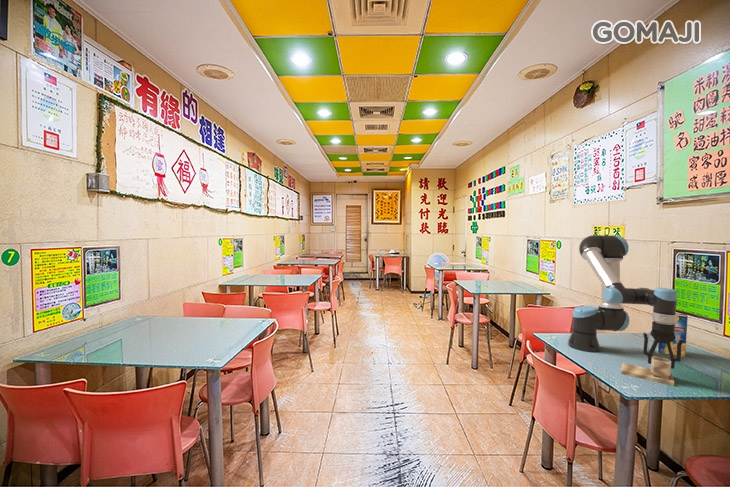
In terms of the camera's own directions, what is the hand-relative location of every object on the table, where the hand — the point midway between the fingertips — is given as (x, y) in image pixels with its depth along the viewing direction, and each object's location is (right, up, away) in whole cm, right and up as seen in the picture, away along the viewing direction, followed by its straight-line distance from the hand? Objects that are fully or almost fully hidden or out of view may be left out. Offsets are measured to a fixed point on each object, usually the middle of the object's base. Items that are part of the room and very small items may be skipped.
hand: (660, 372), depth 147 cm
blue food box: (+36, -2, +33) cm, 49 cm away
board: (-3, -2, +3) cm, 5 cm away
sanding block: (0, -1, 0) cm, 1 cm away
